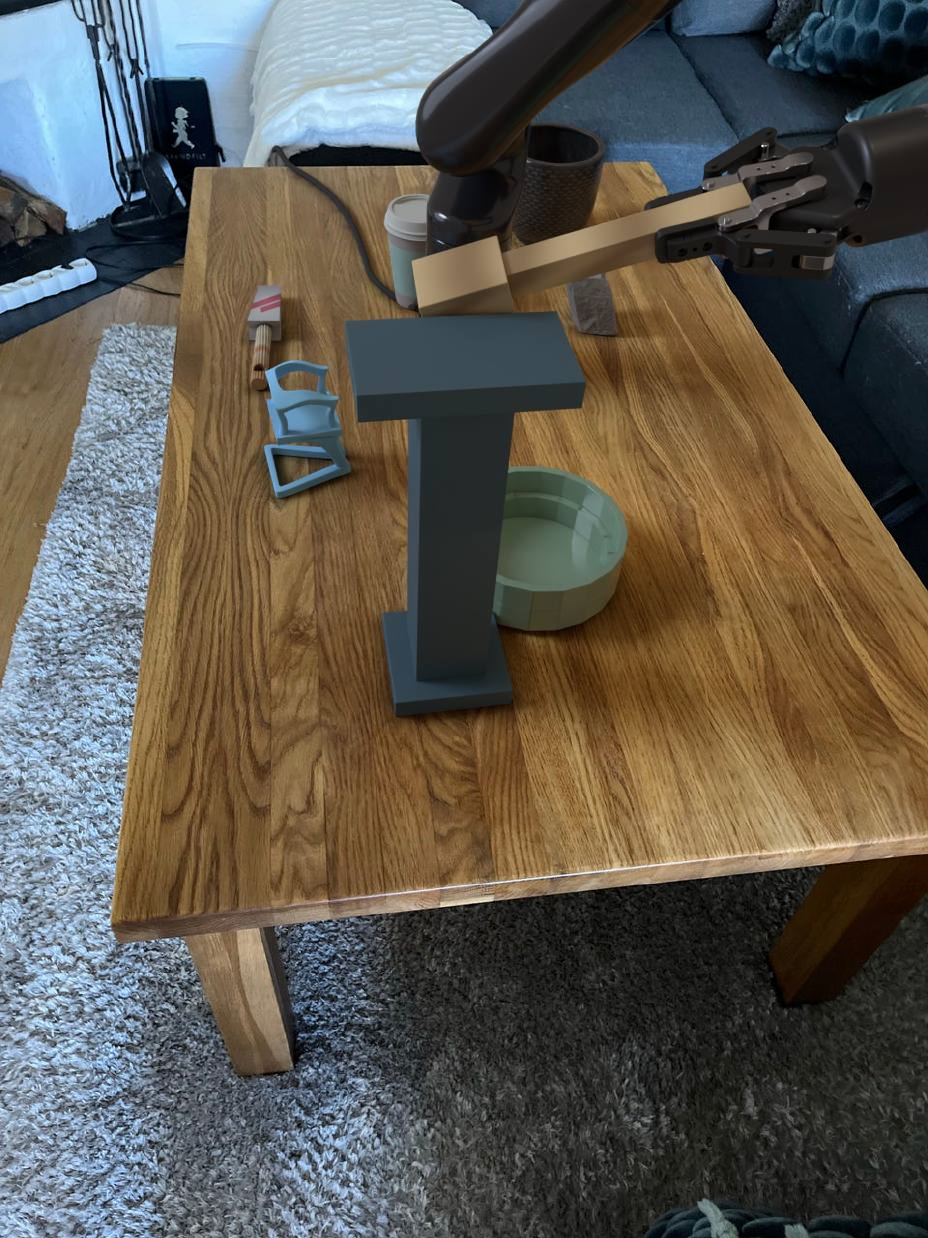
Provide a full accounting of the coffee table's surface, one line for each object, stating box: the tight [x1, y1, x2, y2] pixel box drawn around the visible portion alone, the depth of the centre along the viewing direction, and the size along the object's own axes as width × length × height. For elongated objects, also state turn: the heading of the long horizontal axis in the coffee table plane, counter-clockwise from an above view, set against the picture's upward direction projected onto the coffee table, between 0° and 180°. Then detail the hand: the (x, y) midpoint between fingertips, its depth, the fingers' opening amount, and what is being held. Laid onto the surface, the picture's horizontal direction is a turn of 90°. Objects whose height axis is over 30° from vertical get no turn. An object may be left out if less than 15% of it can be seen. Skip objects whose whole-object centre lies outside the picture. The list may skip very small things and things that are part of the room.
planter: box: [512, 121, 606, 246], centre depth 129 cm, size 14×14×13 cm
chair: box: [263, 359, 352, 499], centre depth 94 cm, size 8×8×12 cm
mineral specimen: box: [565, 272, 618, 336], centre depth 117 cm, size 7×9×8 cm
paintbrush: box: [246, 284, 282, 391], centre depth 113 cm, size 4×3×20 cm
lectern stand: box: [344, 310, 587, 717], centre depth 71 cm, size 14×10×32 cm
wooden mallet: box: [412, 183, 753, 317], centre depth 61 cm, size 22×5×2 cm, turn 95°
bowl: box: [493, 465, 629, 632], centre depth 89 cm, size 17×17×6 cm
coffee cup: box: [383, 193, 430, 311], centre depth 117 cm, size 8×9×12 cm
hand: (652, 233), depth 61 cm, fingers closed on wooden mallet, 2 cm apart
